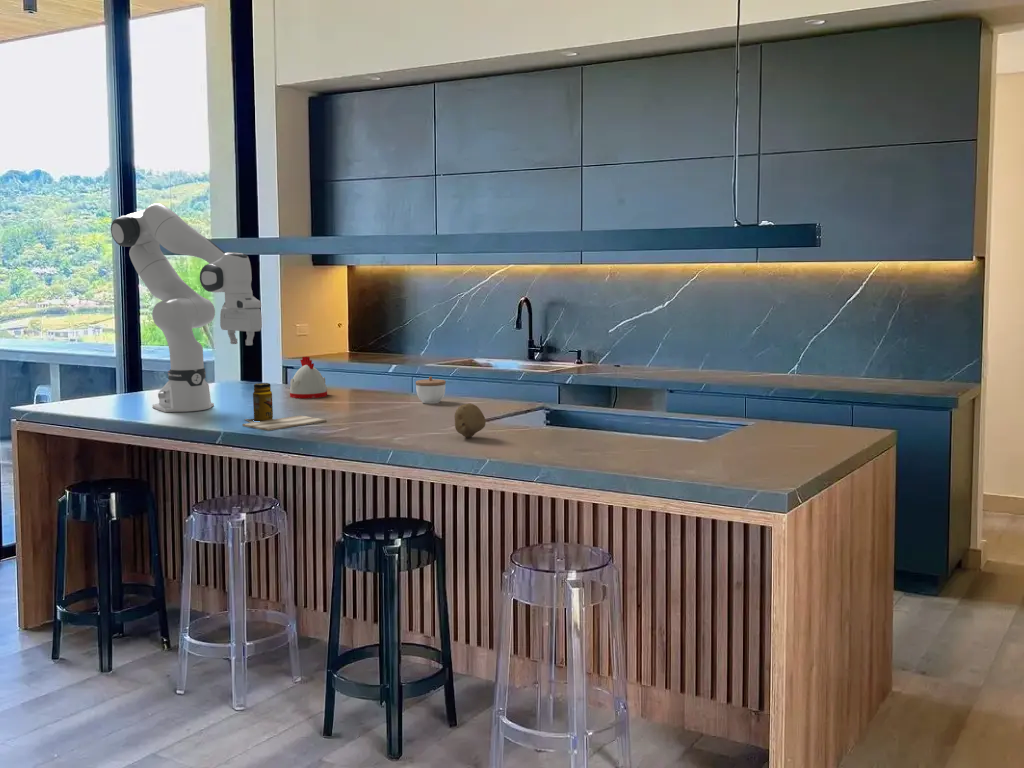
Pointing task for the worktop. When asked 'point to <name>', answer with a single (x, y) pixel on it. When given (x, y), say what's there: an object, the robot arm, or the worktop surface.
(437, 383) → the lidded jar
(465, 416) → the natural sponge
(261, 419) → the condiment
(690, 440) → the worktop surface
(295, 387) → the kitchen timer
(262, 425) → the wooden cutting board
